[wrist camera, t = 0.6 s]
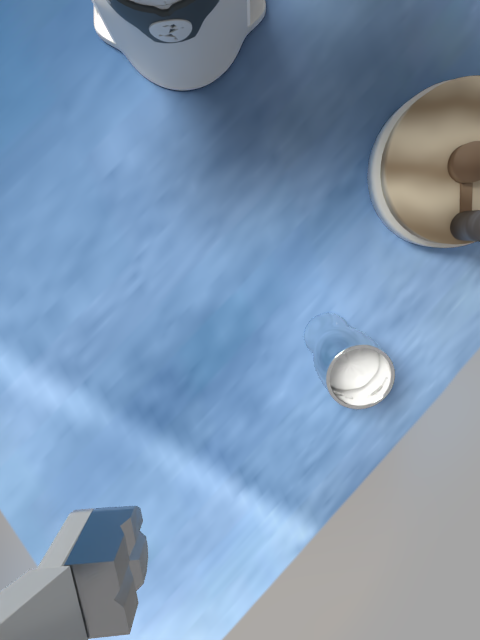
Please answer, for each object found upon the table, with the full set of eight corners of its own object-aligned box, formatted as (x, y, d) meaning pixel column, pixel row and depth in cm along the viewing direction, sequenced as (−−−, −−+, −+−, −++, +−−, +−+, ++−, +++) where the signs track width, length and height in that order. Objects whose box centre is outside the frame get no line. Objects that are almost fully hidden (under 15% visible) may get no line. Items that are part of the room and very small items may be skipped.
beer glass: (351, 359, 52) (394, 410, 37) (299, 360, 52) (322, 412, 38) (354, 308, 50) (400, 341, 36) (300, 309, 50) (324, 343, 36)
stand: (364, 97, 45) (381, 79, 39) (537, 76, 44) (578, 55, 39) (369, 254, 49) (385, 257, 43) (527, 236, 48) (563, 238, 43)
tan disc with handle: (378, 92, 42) (409, 62, 34) (538, 73, 41) (607, 37, 34) (382, 251, 46) (410, 256, 38) (527, 235, 45) (587, 236, 37)
